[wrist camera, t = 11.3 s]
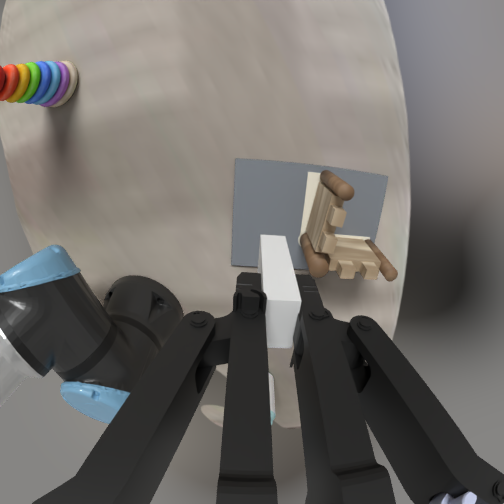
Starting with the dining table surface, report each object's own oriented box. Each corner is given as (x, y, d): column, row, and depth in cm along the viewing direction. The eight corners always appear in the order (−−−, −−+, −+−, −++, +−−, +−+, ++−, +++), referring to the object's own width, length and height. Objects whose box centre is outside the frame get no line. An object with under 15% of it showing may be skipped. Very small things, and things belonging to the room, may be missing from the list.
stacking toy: (81, 55, 26) (-4, 40, 10) (79, 100, 30) (-12, 105, 13) (47, 70, 26) (-35, 68, 10) (45, 112, 30) (-39, 126, 13)
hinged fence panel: (304, 229, 38) (317, 259, 30) (321, 168, 34) (341, 182, 26) (316, 232, 39) (331, 261, 31) (333, 171, 35) (356, 186, 27)
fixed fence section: (369, 250, 41) (394, 283, 32) (298, 245, 40) (309, 280, 32) (372, 236, 40) (399, 267, 31) (300, 230, 39) (312, 262, 31)
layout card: (365, 271, 42) (366, 272, 42) (231, 263, 42) (231, 265, 42) (387, 176, 35) (388, 176, 35) (235, 158, 35) (235, 158, 34)
